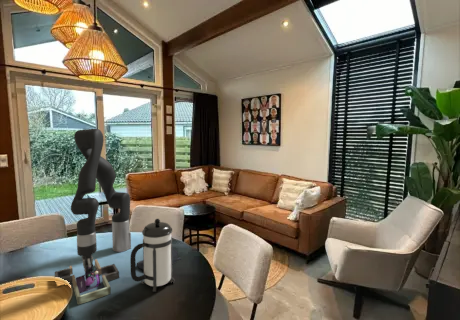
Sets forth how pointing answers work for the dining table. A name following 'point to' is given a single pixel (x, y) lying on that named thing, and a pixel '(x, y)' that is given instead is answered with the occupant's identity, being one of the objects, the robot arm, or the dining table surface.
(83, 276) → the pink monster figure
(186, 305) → the dining table surface
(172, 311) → the dining table surface
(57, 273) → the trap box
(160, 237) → the coffee press
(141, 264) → the dark slate chunk
